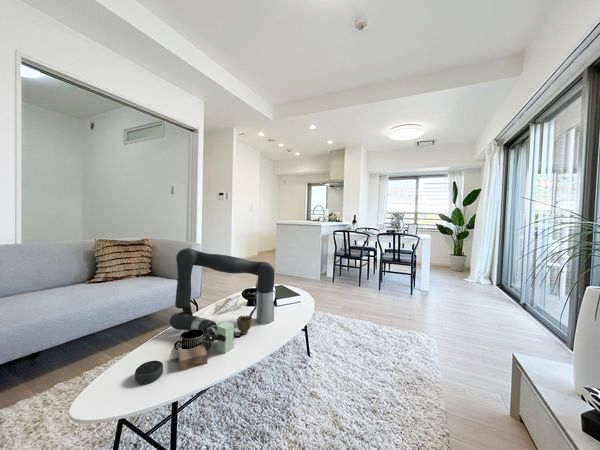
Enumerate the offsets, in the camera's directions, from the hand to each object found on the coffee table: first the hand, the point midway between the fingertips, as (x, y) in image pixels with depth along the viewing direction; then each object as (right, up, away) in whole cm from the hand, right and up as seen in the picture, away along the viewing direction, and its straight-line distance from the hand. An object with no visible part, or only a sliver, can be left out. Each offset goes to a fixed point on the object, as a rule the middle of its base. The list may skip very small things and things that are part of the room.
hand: (229, 336), depth 108 cm
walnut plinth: (-13, -6, -8) cm, 17 cm away
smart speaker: (-25, -7, -18) cm, 31 cm away
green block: (-2, -6, +1) cm, 7 cm away
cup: (+3, -6, +16) cm, 18 cm away
